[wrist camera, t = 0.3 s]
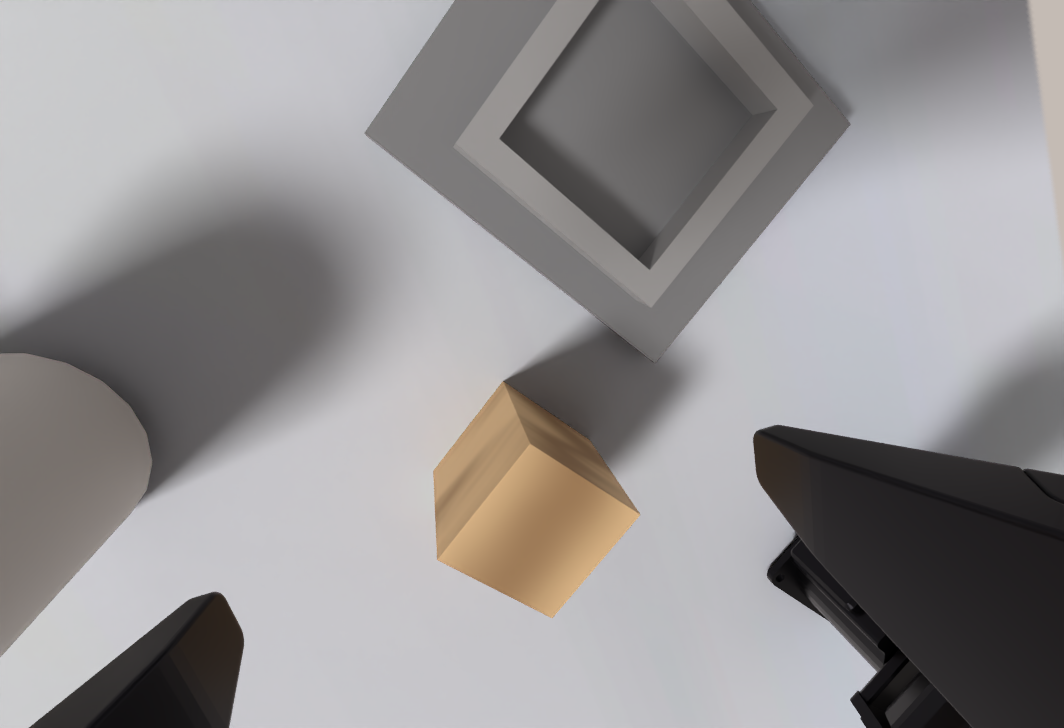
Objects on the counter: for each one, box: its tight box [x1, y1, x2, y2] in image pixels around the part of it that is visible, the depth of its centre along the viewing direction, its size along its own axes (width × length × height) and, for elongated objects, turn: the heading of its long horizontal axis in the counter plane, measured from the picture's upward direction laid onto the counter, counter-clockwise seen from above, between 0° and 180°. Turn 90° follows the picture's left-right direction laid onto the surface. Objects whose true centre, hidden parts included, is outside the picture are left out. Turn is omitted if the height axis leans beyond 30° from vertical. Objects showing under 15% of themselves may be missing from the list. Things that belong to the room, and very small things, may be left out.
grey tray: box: [365, 0, 850, 363], centre depth 19 cm, size 14×12×2 cm
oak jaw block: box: [433, 381, 640, 618], centre depth 21 cm, size 5×5×6 cm
